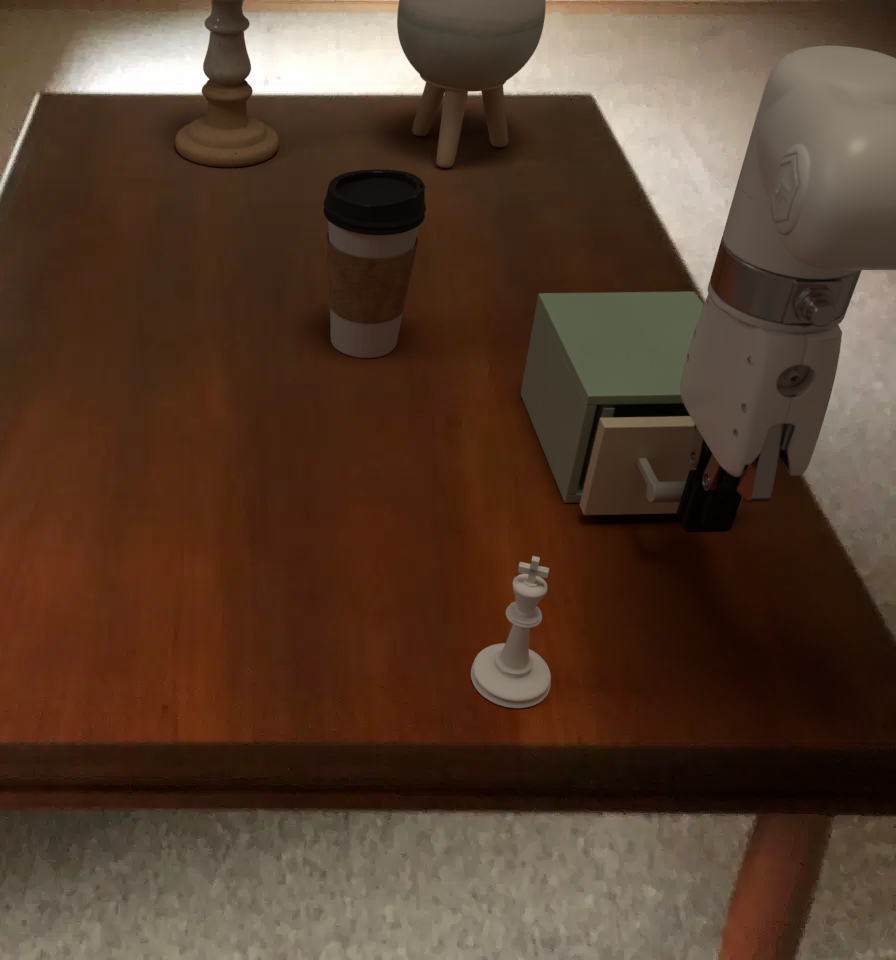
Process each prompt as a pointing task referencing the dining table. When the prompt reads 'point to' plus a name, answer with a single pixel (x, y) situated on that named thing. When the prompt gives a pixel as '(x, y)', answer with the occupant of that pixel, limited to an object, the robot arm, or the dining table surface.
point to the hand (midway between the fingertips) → (702, 523)
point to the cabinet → (601, 365)
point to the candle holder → (227, 99)
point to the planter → (466, 59)
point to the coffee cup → (371, 256)
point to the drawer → (637, 459)
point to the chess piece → (516, 648)
